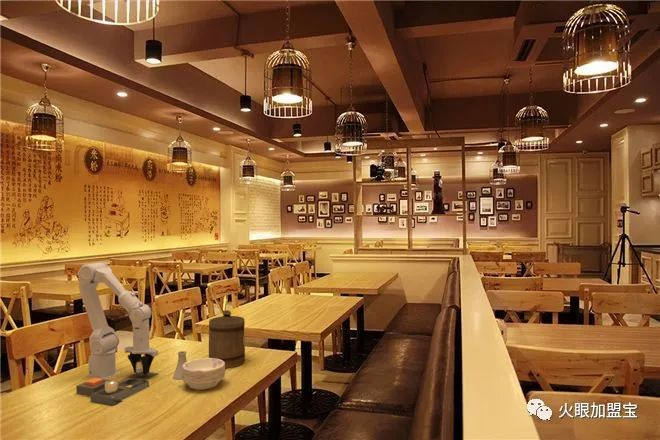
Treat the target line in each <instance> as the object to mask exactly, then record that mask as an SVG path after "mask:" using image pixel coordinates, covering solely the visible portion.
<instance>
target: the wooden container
mask: <svg viewBox="0 0 660 440" xmlns="http://www.w3.org/2000/svg"><path fill="white" fill-rule="evenodd" d="M222 315H223V316H217V317H214V318H211V319H209V321H208V358H216V359H220V360H222V361H224V362H225V369H232V368H237V367H240V366H242V365H244V363H246V343H245V342H246V341H245V337H246V336H245V325H246V324H245V318H244V317H242V316H239V315H237V316H236V315H232V312H231V311H230V310H229V309H227V310H223V312H222Z"/></svg>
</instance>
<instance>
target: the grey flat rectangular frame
mask: <svg viewBox="0 0 660 440" xmlns="http://www.w3.org/2000/svg"><path fill="white" fill-rule="evenodd" d="M125 378H126V379H124V378H123V379H121V380H118V393H117V394H115V395H113V396H107V395H105V388H103V389H101V390H99V391H96V392H94V393H92V394H91V397H90V402H92V403H97V404H103V405H107V406H111V407H112V406H116V405H118V404H120V403H121V402H123V400H124V399H125V400H126V399H127V398H129V397H131V396H133V395H135V394H137V393H138V392H141V391H144V390H146V389H147V388H149V387H150V380H139V379H133V378H127V377H125ZM128 386H129V387H128Z"/></svg>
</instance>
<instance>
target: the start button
mask: <svg viewBox="0 0 660 440" xmlns="http://www.w3.org/2000/svg"><path fill="white" fill-rule="evenodd" d="M103 379H104V378H103ZM103 379H99V378H94V377H92V378H91V379H88V380H86V381H85V382H86V385H89V386H96V385H98V384H101V383H103Z"/></svg>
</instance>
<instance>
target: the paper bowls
mask: <svg viewBox="0 0 660 440" xmlns="http://www.w3.org/2000/svg"><path fill="white" fill-rule="evenodd" d="M225 374H226V368H225V362H224V361H222V360H220V359H216V358H209V357H203V358H202V357H201V358H196V359H195V358H194V359H191V360H188V361H187V362H186V363H184V364H183V366H182V380H181V381H183V382H184V383H186V384H187V386H188V387H190V389H193V390H199V391H201V390H202V391H203V390H209V389H213V388H214V387H216V386H217V385H218V384H219V383H220V381H222V380H224V378H225V376H226V375H225Z"/></svg>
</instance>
